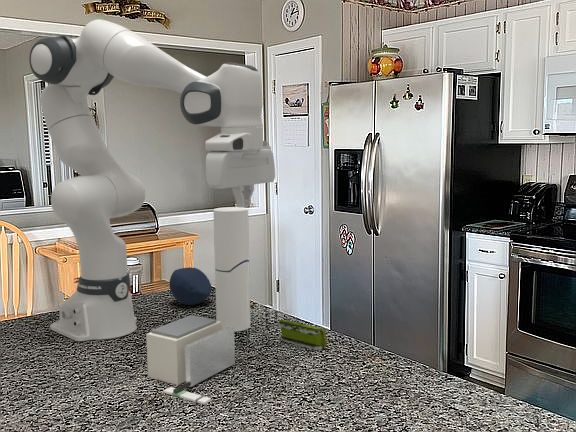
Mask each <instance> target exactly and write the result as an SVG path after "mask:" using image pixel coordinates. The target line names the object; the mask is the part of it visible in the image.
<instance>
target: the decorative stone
mask: <svg viewBox="0 0 576 432" xmlns="http://www.w3.org/2000/svg"><path fill="white" fill-rule="evenodd" d="M212 288H213V287H212V283H211V281H210V279H209V278H208V276H207V275H206V274H205V273H204V272H203V271H202V270H201V269H198V268H196V267H192V266H191V267H182V268H178V269H175V270H173V272H172V273H171V275H170V279H169V289H170V293H171V294H172V296H173V298H174V299H175V300H176V301H177V302H179V303H181V304H183V305H186V306H194V305H198V304H200V303H203V302H204V301H206V300H207V299H208V298H209V296H210V295H211V293H212V291H213V290H212Z"/></svg>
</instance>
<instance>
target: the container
mask: <svg viewBox="0 0 576 432" xmlns="http://www.w3.org/2000/svg"><path fill="white" fill-rule="evenodd" d="M249 230H250V229H249V208H247V207H237V206H226V207H225V206H224V207H223V206H222V207H217V208H214V209H213V242H214V246H213V247H214V248H213V249H214V278H215V279H214V281H215V285H214V287H215V312H216V313H215V316H216V318H215V320H216V321H220V322H221V327H222V329H224V328H227V327H229V326H231V327H234V333H235V332H242V331H243V332H244V331H245V330H248V329H249V328H250V327H251V291H250V289H251V288H250V287H251V286H250V285H251V283H250V282H251V281H250V234H249Z"/></svg>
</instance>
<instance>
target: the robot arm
mask: <svg viewBox="0 0 576 432" xmlns="http://www.w3.org/2000/svg"><path fill="white" fill-rule="evenodd" d="M28 59H29V67H30V70H31V72H32V74H33V75H34V76H35V77H36V78H37V79H38V80H40V81H42V82H44V83H47V84H48V85H47V86H45V87H44V89H42V91H41V93H40V98H39V99H40V107H41V111H42V115H43V118H44V122H45V125H46V127H47V130H48V133H49V135H50V138H51V141H52V143H53V146H54V148H55V150H56V153H57V156H58V158H59V160H60V161H61V162H62V163H63V164H64V165H65V166H67V167H68V168H70V169H72V170H73V171H75V173H77V174H78V175H79V176H74V177H71V178H68V179H65V180H62V181H60V182H58V183H57V184H56V185H55V186H54V187H53V190H52V192H51V195H50V196H51V197H50V205H51V209H52V211H53V213H54V214H55V216H56V217H57V219H59V220H60V221H61V222H63V223H64V224H66V225H67V226H68V228H69V229H70V231H71V232H72V234H73V236H74V239H75V241H76V244H77V247H78V254H79V255H78V256H79V265H80V277H76V278H73V280H74V282H73V283H74V284H76V283H77V286H76V291H75V292H74V293H72V295H70V296H69V297H68V298H67V299H66V300H65V301H64V302H62V304H61V305H60V308H59V319H58V320H56V321H54V322H53V323H51V324H50V325H49V330H50V331H51V330H52V331H54V332H56V333H58V334H60V335H63V336H64V337H67V338H69V339H71V340H73V341H75V342H83V341H92V340H107V339H108V340H110V339H116V338H120V337H123V336H126V335H130V334H132V333H134V332H135V331H136V330H137V329H138V325H137V322H138V320H137V316H135V311H134V305H133V299H132V293H131V291H130V289H131V278H130V273H129V272H128V257H127V256H128V254H127V253H128V252H127V245H126V242H125V240H124V239H122V237H120V236H118V235H116V234H115V233H114V231H113V229H112V225H111V220H110V219H114V218H121V217H125V216H127V215H131V214H132V213H134V212H136V211H138V210H140V209H141V207H142V206H143V205H144V203H145V200H146V190H145V186H144V184H143V182H142V181H141V179H140V178H138V177H137V176H135V175H133V174H132V173H130V172H129V171H128V170H127V169H125V168H124V167H123V166H122V165H121V164H120V163H119V162H118V160H117V159H116V158H115V157H114V155H113V154H112V153H111V151H110V150H109V148H108V147H107V145H106V143H105V142H104V139H103V137H102V135H101V132H100V130H99V128H98V126H97V123H96V121H95V118H94V117H93V114H92V112H91V109H90V108H89V107H90V106H89V104H88V95H89V96H96V95H98V94H99V93H100V92H101V91H102V89H103V88H105V87H106V86H107V87H108V85H110V83H111V82H112V80H114V78H115V79H118V80H119V81H123V82H124V83H128V84H130V85H135V86H142V87H151V88H152V87H153V88H159V89H160V88H161V89H164V90H165V89H167V90H169V91H170V90H171V91H173V92H174V91H175V92H177V93H179V94H181V95H180V99H179V107H180V111H181V113H182V116H183V117H184V118H185V120H186V121H187V122H188V123H190V124H192V125H196V126H199V127H220V132H219V133H218V134H216V135H213V137H211V138H209V139H207V140H206V141H205V143H204V145H205V151H207V152H208V153H207V154H206V157H205V180H206V184H207V186H208V187H209V188H210V189H216V190H217V189H219V190H223V189H229V188H231V192H232V194H233V196H234V198H235V207H243V208H247V207H250V206H251V205H252V199H251V198H252V196H253V194H254V191H255V185H261V184H266V183H267V184H268V183H273V182H274V181H275V179H276V168H275V167H276V166H275V159H274V153H273V151H272V147H271V145H270V144H269V143H268V141H266V140H264V124H263V121H262V110H263V103H264V102H263V99H264V98H263V87H262V79H261V75H260V72H259V70H258V69H257V68H256V67H255V66H253V65H251V64H250V65H249V64H243V63H238V62H231V61H229V62H224V63H223V64H222V65H221V66H220V67H219V68H218V70H217V71H215V72H213V73H212V74H210V75H206V74H203V73H202V72H199V71H198V70H196V69H194V68H192V67H190V66H188V65H186V64H184V63H182V62H180V61H179V60H178V59H175V58H174V57H172V56H171V55H170V54H168V53H167V52H165V51H164V50H162V49H160V48H159V47H158V46H156V45H155V44H153V43H152V42H150V41H149V40H147V39H146V38H144V37H143V36H141V35H140V34H137V33H136V32H134V31H132V30H130V29H129V28H127V27H125V26H123V25H121V24H118V23H115V22H112V21H110V20H109V21H108V20H105V19H100V18H99V19H94V20H91V21H89V22H88V23H86V25H85V26H84V27H83V29H82V30H81V33H80V34H79V36H78V37H77V38H70V37H69V36H68V35H67V34H66V35H65V34H64V35H58V36H51V37H43V38H41V39H38V40H37V41H36V42H34V44H33V46H32V47H31V49H30V51H29V57H28Z"/></svg>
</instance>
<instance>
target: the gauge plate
mask: <svg viewBox="0 0 576 432" xmlns="http://www.w3.org/2000/svg"><path fill="white" fill-rule="evenodd" d="M235 347H236V346H235V332H234V327H231V326H229V327H227V328H224V329H222V330H220V331H217V332H215V333H213V334H211V335H208V336H206V337H204V338H202V339H199V340H197V341H195V342H193V343H190V344H188V345H186V346H185V366H186V381H185V382H184V383H182V385H181V384H180V386H179V385H178V387H175V388H176V389H174V390H173V393H178V392H179V391H181V390H185V389H187V388H191V387H192V388H193V387H194V386H195V385H197V384H199V383H201V382H203V381H204V380H207V379H208V378H210V377H212V376H215V375H216V374H218V373H220V372H222V371H224V370H226V369H228V368H229V367H231V366H233V365H235V364H236V351H235Z"/></svg>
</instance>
